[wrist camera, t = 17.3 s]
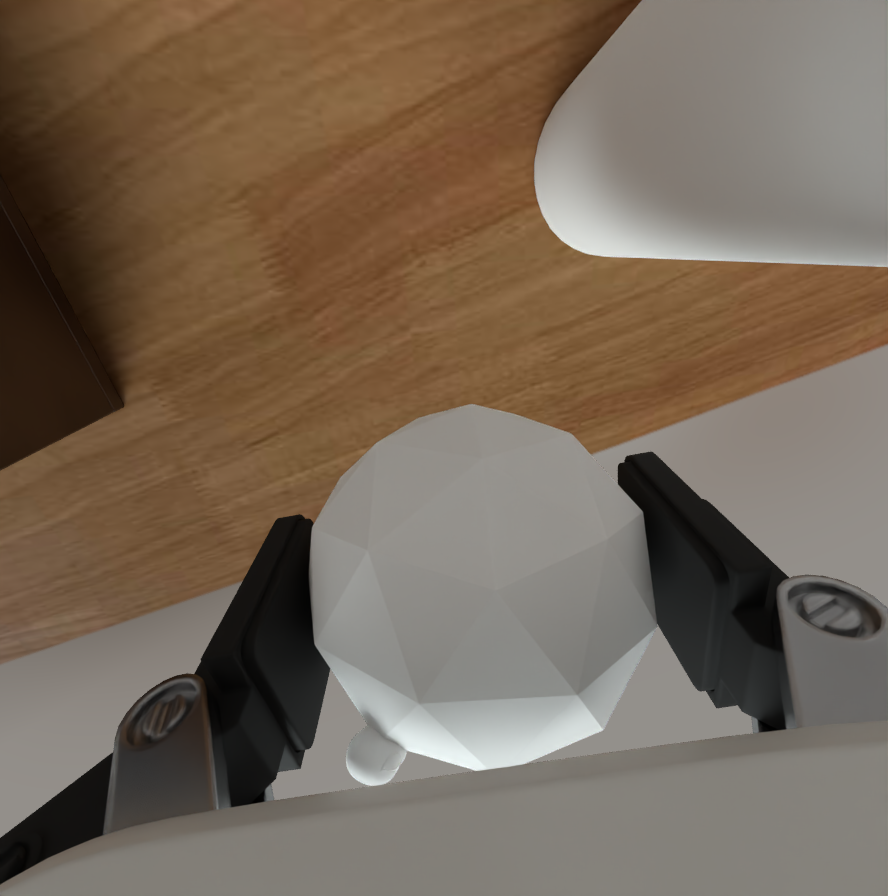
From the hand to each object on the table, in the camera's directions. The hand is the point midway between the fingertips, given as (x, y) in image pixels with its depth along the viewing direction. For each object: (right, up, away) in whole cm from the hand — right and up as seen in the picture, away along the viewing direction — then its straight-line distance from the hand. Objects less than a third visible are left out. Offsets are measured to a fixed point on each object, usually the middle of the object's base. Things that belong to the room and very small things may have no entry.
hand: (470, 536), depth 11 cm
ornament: (0, +1, +2) cm, 3 cm away
